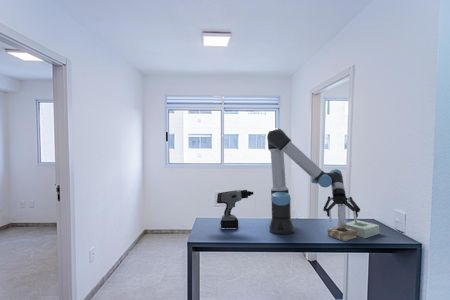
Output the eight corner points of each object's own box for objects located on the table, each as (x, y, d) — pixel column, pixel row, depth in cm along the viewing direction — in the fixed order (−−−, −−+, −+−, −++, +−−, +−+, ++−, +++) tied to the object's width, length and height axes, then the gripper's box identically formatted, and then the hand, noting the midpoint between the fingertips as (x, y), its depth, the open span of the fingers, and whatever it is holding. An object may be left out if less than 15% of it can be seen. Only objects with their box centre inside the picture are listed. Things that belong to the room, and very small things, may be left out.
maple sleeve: (327, 235, 160) (327, 229, 160) (339, 232, 165) (339, 225, 165) (344, 241, 150) (344, 234, 150) (356, 237, 156) (356, 230, 156)
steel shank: (336, 236, 158) (336, 205, 158) (341, 235, 160) (340, 204, 160) (342, 238, 155) (342, 206, 155) (347, 236, 157) (346, 205, 157)
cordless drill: (254, 229, 175) (253, 190, 175) (216, 229, 176) (215, 191, 175) (253, 225, 183) (252, 188, 183) (217, 226, 184) (216, 189, 183)
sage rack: (343, 231, 166) (343, 223, 166) (357, 227, 173) (357, 219, 173) (365, 238, 154) (364, 229, 154) (379, 233, 161) (378, 225, 161)
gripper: (359, 194, 171) (365, 225, 156) (317, 194, 176) (320, 223, 162) (361, 187, 165) (368, 219, 151) (317, 187, 171) (320, 217, 157)
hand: (343, 221), depth 157 cm, fingers open, 13 cm apart
